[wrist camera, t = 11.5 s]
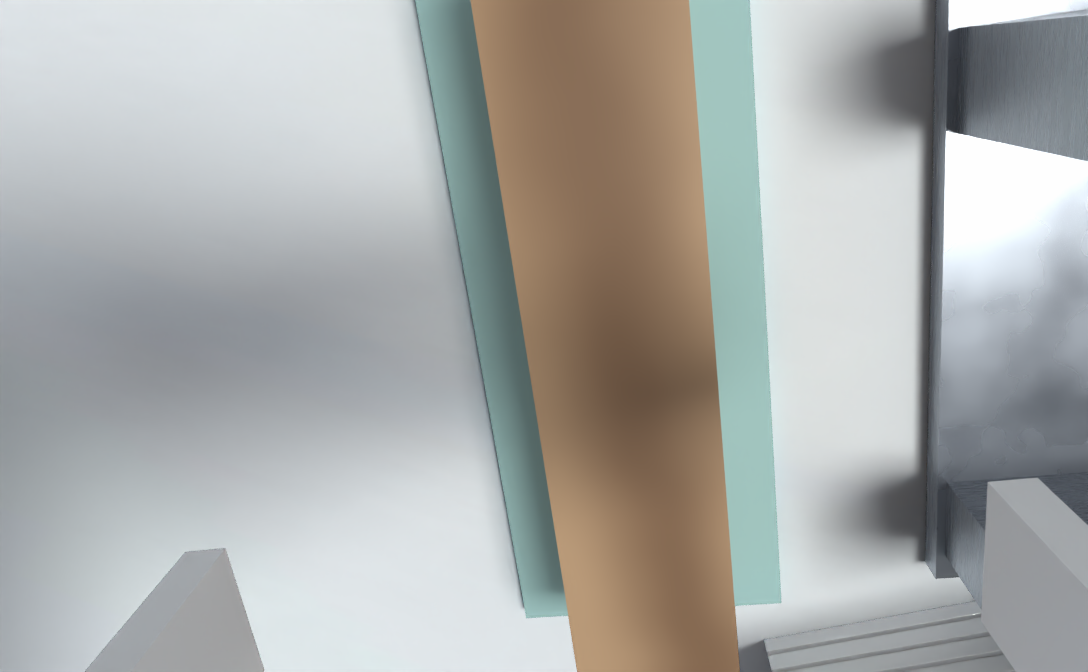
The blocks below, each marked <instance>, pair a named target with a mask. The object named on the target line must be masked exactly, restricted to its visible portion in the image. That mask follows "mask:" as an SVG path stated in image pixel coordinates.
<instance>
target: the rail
mask: <svg viewBox="0 0 1088 672" xmlns="http://www.w3.org/2000/svg"><path fill="white" fill-rule="evenodd" d="M470 1H471V7H472V13H473V20H474V26H475V32H476V38H477V45H478V51H479V57H480V64H481V70H482V76H483V82H484V89H485V95H486V101H487V108H488V114H489V120H490V126H491V133H492V139H493V145H494V152H495V158H496V164H497V170H498V177H499V183H500V189H501V196H502V202H503V208H504V214H505V221H506V227H507V233H508V240H509V246H510V252H511V258H512V265H513V271H514V277H515V284H516V290H517V296H518V302H519V309H520V315H521V321H522V328H523V334H524V340H525V347H526V353H527V359H528V365H529V372H530V378H531V384H532V391H533V397H534V403H535V409H536V416H537V422H538V428H539V435H540V441H541V447H542V453H543V460H544V466H545V472H546V479H547V485H548V491H549V497H550V504H551V510H552V516H553V523H554V529H555V535H556V541H557V548H558V554H559V560H560V567H561V573H562V579H563V585H564V592H565V598H566V604H567V611H568V617H569V623H570V629H571V636H572V642H573V648H574V655H575V661H576V667H577V672H740V668H739V654H738V641H737V628H736V615H735V602H734V588H733V575H732V562H731V549H730V536H729V522H728V509H727V496H726V483H725V469H724V456H723V443H722V430H721V417H720V403H719V390H718V377H717V364H716V351H715V337H714V324H713V311H712V298H711V285H710V271H709V258H708V245H707V232H706V218H705V205H704V192H703V179H702V166H701V152H700V139H699V126H698V113H697V100H696V86H695V73H694V60H693V47H692V33H691V20H690V7H689V0H470Z"/></svg>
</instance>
